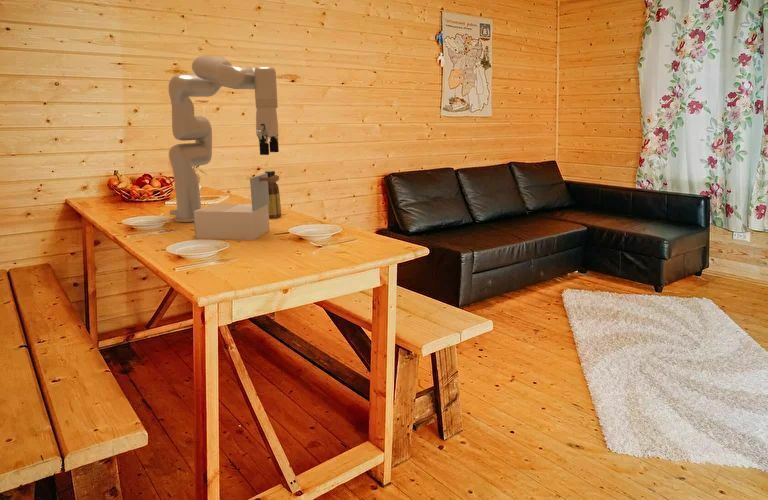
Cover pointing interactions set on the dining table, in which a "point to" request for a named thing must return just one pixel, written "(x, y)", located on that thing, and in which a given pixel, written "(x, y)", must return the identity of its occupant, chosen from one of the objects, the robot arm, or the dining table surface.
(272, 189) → the sauce bottle
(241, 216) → the carton
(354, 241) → the dining table surface
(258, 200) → the flap
